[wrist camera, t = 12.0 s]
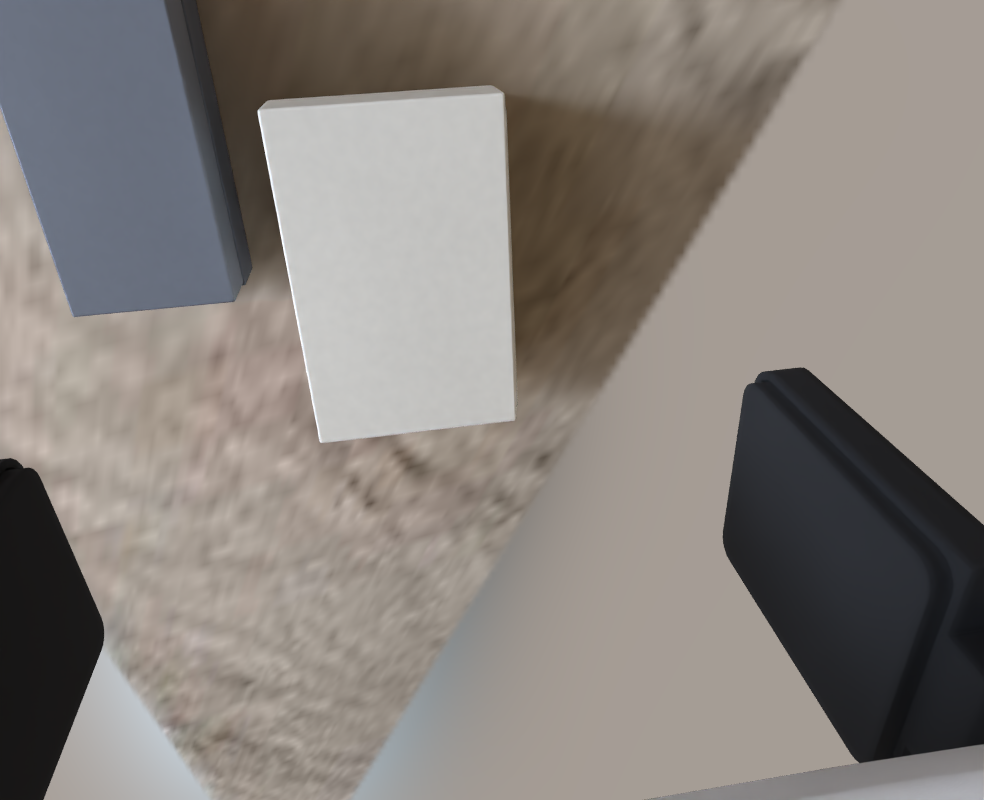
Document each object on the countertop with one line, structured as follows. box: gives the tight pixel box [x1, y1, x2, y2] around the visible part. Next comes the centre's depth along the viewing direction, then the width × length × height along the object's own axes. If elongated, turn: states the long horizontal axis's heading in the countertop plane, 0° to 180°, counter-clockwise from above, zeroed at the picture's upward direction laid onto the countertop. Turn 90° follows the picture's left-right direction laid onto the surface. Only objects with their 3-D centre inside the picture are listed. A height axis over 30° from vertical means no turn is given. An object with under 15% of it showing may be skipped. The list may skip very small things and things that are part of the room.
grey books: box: [0, 0, 252, 317], centre depth 24 cm, size 11×6×4 cm, turn 3°
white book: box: [258, 85, 516, 443], centre depth 24 cm, size 11×7×2 cm, turn 3°
